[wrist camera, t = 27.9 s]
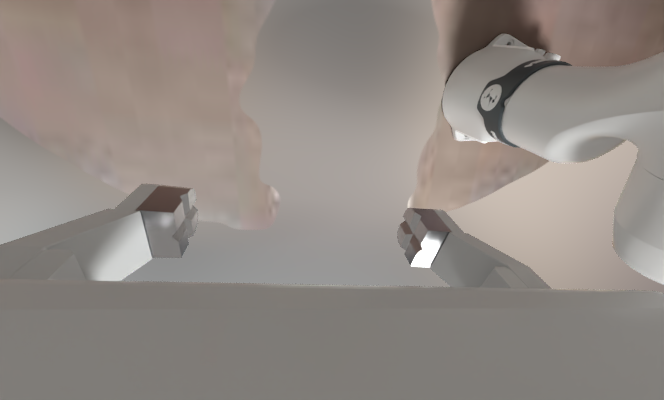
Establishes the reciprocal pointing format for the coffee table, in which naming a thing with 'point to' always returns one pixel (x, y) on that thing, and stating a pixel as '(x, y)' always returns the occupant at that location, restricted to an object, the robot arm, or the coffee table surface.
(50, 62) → the coffee table surface
